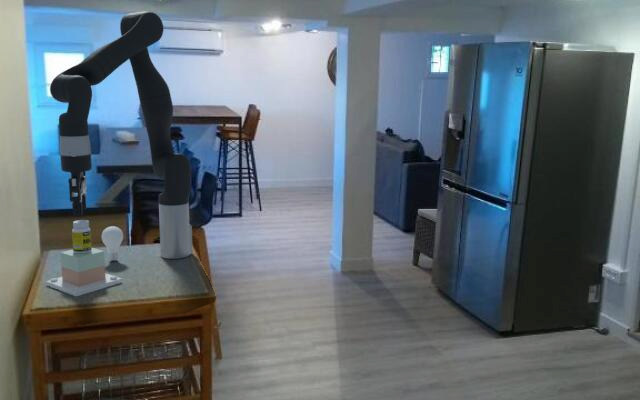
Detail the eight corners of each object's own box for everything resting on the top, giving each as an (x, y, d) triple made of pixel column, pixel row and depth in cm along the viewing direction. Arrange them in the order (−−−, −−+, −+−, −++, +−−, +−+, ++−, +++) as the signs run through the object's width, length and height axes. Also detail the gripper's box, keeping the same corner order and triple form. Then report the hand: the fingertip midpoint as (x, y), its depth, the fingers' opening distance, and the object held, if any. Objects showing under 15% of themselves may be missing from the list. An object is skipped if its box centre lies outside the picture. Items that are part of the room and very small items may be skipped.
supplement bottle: (85, 254, 161) (83, 224, 160) (69, 253, 162) (67, 222, 160) (95, 249, 166) (93, 220, 164) (79, 248, 167) (78, 219, 165)
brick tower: (91, 272, 175) (90, 242, 173) (121, 282, 167) (120, 250, 165) (46, 285, 164) (43, 252, 162) (76, 296, 156) (73, 262, 154)
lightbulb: (121, 257, 191) (120, 223, 189) (126, 262, 186) (125, 227, 184) (100, 259, 188) (99, 225, 186) (105, 265, 182) (103, 229, 180)
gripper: (64, 149, 164) (69, 207, 167) (55, 156, 151) (60, 219, 154) (93, 149, 166) (97, 206, 169) (87, 155, 152) (91, 218, 156)
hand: (80, 212), depth 162 cm, fingers open, 8 cm apart
